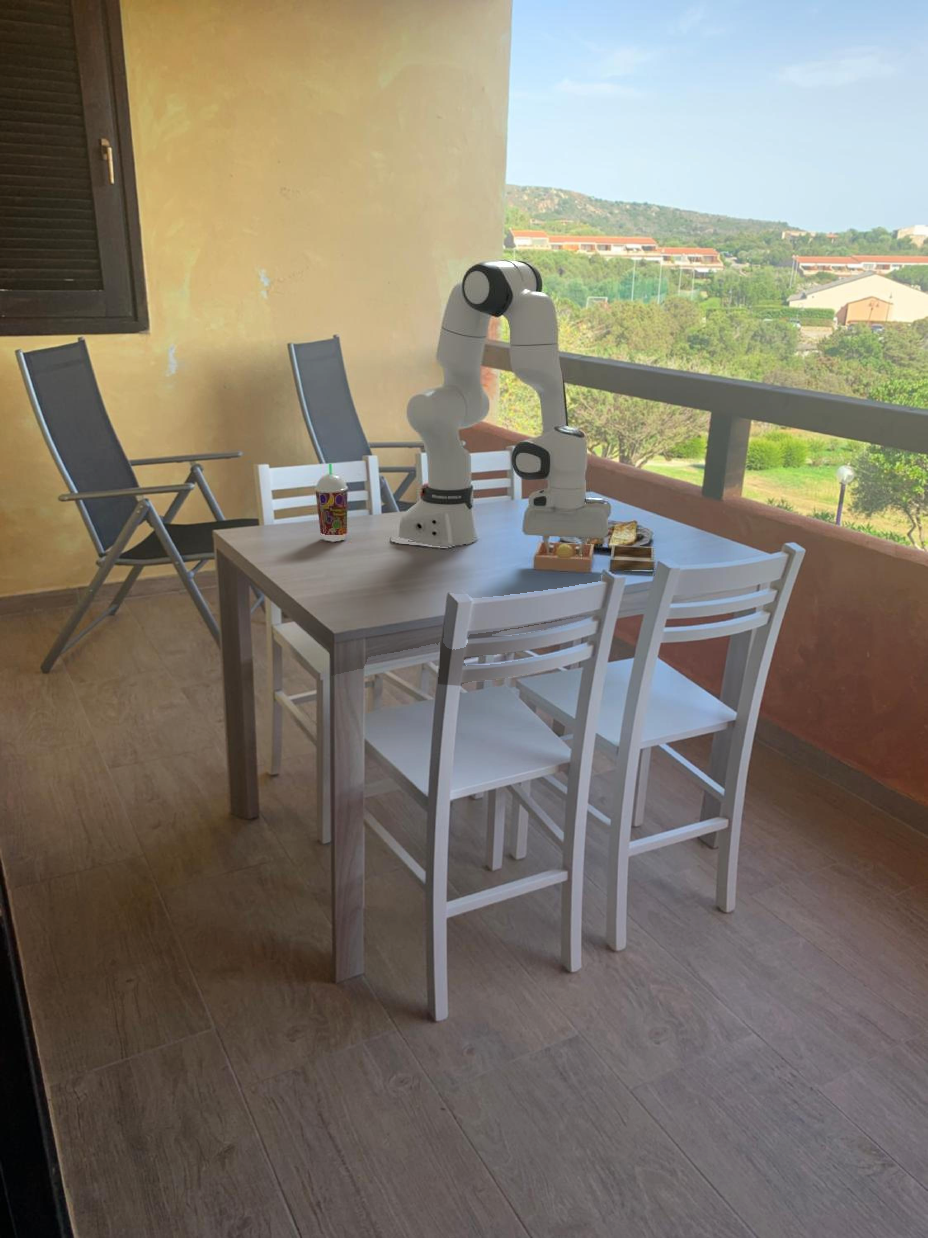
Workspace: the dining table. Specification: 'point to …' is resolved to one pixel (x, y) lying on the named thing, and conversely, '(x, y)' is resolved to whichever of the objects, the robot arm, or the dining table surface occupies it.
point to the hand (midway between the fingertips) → (564, 554)
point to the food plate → (619, 535)
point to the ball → (564, 551)
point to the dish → (564, 564)
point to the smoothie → (332, 504)
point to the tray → (632, 558)
